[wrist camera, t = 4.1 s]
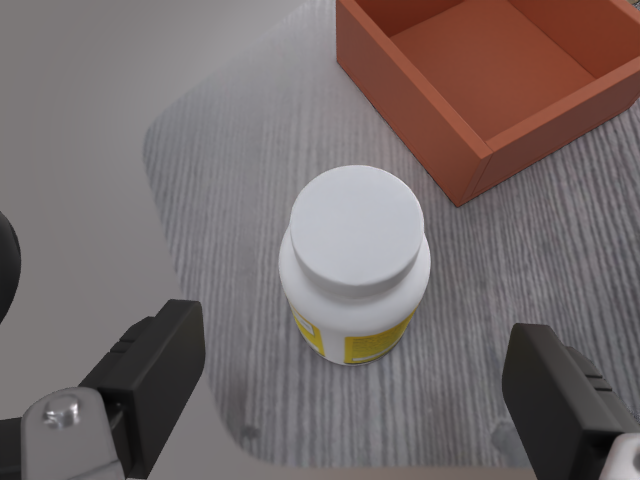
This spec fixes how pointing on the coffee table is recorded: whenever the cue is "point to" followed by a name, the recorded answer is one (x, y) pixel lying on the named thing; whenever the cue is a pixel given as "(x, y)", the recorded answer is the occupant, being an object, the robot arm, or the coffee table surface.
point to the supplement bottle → (354, 263)
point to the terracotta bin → (490, 78)
